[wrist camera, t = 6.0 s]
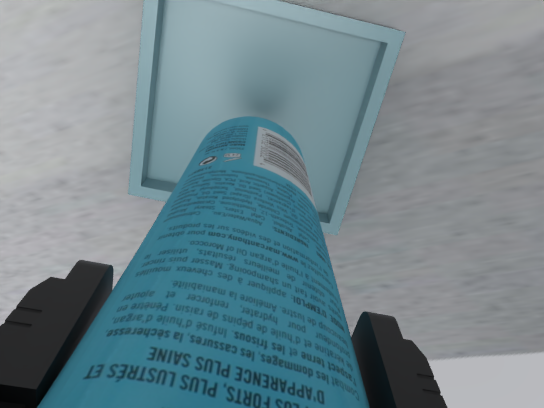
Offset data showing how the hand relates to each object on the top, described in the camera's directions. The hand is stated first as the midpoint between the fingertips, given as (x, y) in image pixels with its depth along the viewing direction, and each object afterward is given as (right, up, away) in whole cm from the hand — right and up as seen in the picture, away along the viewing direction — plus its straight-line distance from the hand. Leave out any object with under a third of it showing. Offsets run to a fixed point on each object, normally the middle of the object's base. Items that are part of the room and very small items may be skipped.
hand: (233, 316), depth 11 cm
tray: (0, +9, +18) cm, 20 cm away
